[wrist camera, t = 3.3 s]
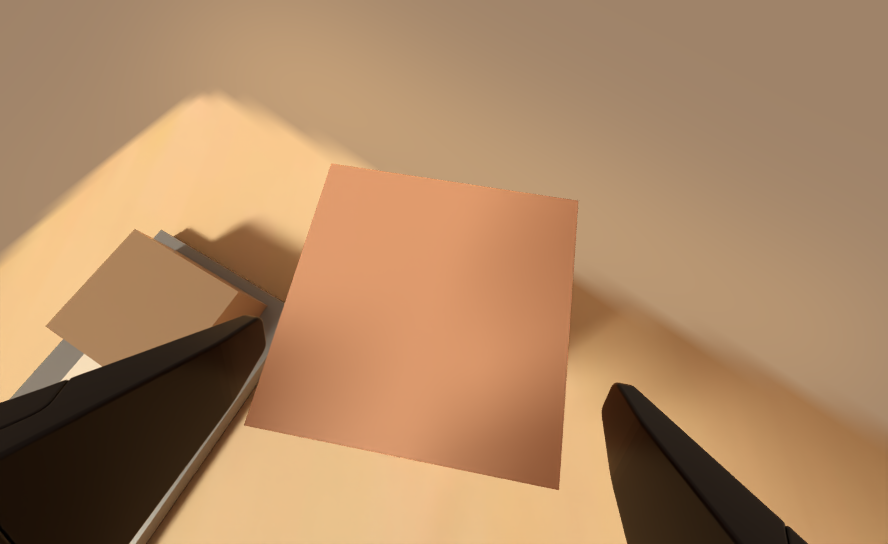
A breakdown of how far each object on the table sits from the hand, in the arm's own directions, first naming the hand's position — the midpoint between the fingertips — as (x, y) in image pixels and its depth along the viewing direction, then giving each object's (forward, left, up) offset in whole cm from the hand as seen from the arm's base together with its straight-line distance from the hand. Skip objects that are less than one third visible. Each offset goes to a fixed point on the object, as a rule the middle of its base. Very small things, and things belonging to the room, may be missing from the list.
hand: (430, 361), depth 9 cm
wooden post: (+1, 0, -8) cm, 8 cm away
